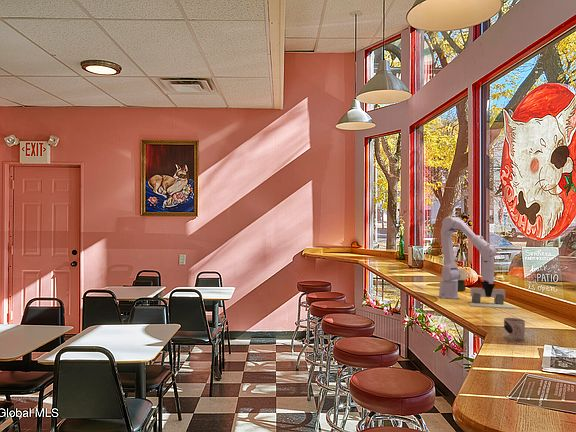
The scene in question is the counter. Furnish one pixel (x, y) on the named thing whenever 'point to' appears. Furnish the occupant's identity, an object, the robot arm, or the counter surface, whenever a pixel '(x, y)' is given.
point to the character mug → (462, 279)
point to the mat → (491, 305)
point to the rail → (482, 292)
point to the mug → (514, 329)
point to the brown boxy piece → (476, 298)
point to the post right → (499, 300)
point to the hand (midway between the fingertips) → (487, 296)
